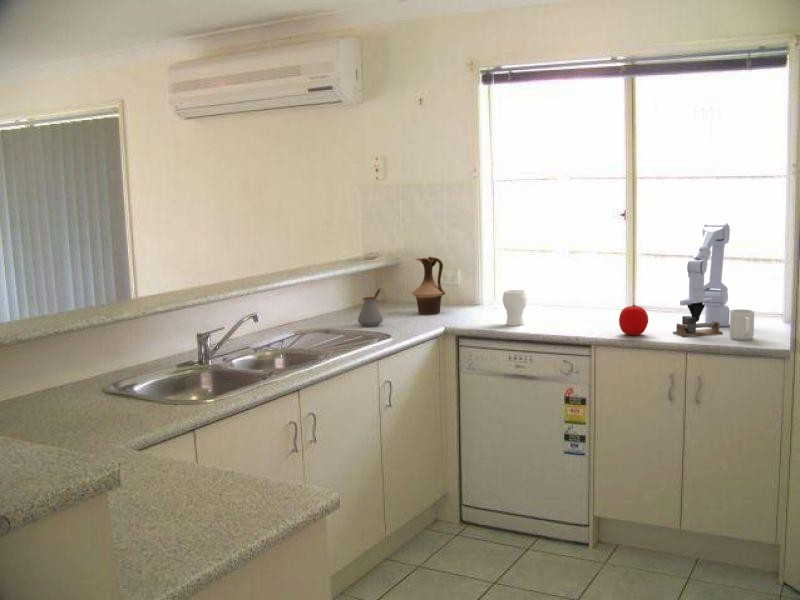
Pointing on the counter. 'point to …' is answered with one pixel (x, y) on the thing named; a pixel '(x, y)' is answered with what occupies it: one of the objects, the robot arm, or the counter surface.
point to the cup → (514, 306)
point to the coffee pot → (370, 312)
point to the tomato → (633, 320)
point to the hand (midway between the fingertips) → (695, 321)
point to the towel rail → (701, 332)
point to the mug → (741, 324)
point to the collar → (689, 323)
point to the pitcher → (429, 288)
